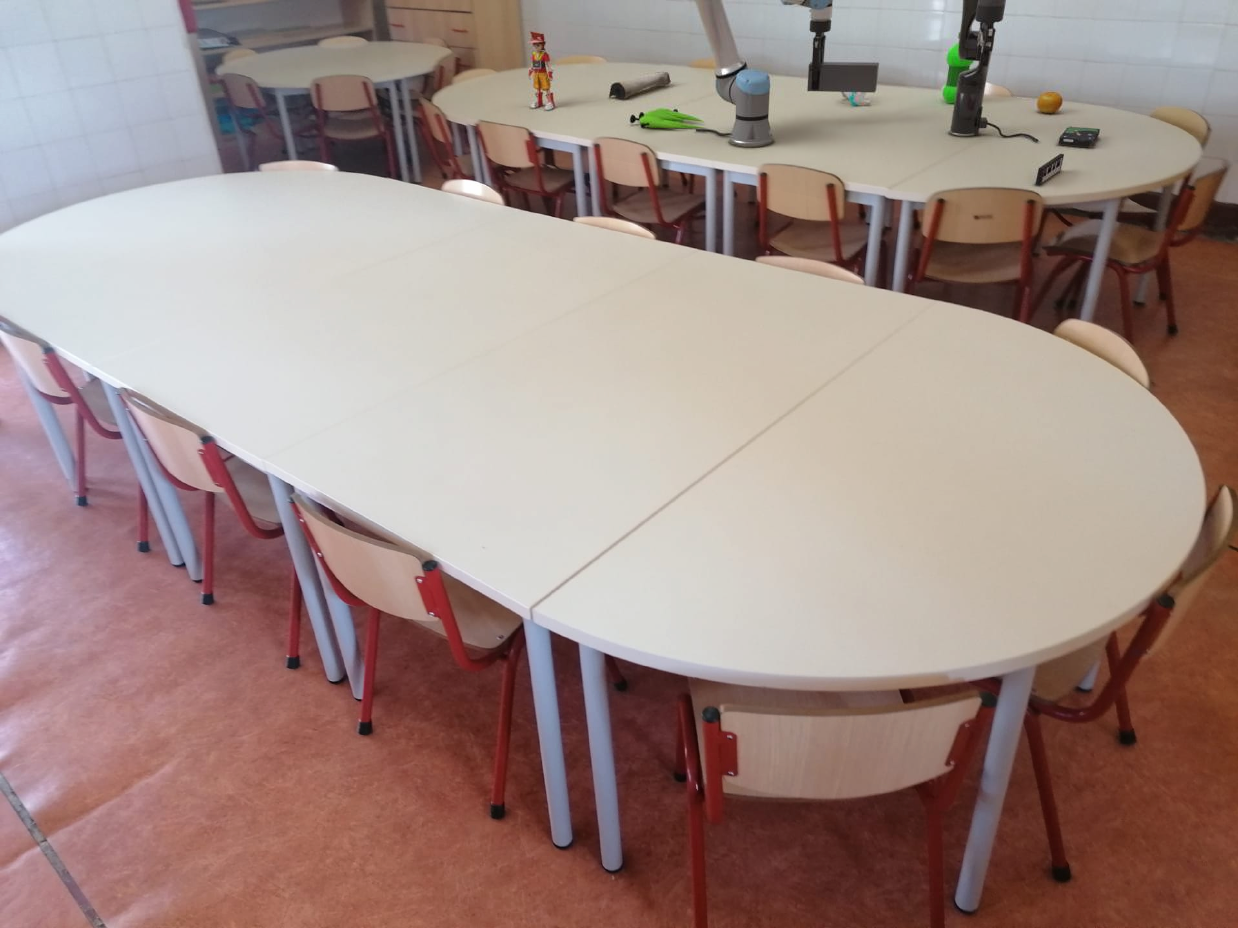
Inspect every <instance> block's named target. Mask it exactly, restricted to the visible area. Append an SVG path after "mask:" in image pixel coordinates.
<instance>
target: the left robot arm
mask: <svg viewBox="0 0 1238 928" xmlns="http://www.w3.org/2000/svg"><path fill="white" fill-rule="evenodd" d="M833 1H834V0H780V2H781V4H782V5H783V6H792V5H797V6H801V7H805V8H809V10H808V12H809V13H810V17H809V18H810V21H809V32H811V33H815V34H814V37H813V38H812V57H811V62H812V68H811V69H810V71H812V86H811V90H819V80H820V71H819V70H820V62H825V50H826V49H825V48H826V40H827V36H826V34H825V33H829V32H831V29H832V20H831V19H832V18H833ZM694 2H695V5H696V8H697V12H698V14H699V17H700V20H701V23H702V26H703V29H704V32H705V35H706V38H707V41H708V44H709V47H710V50H711V53H712V56H713V59H714V63H715V65H716V67H715V69H714V76H715V80H714V86H715V87H714V88H715V91H716V93H717V94H718V96H719V97H720V98H721V99H722V100H724V101H725V102H727V103H730V104H731V105H734V106H735V120H734V123H733V126H732V130H731V132H723V133H722V132H720V131H717V130H716V129H715V130H714V129H710V128H695V132H709V133H714V134H716V135H718V136H721V137H727V136H729V143H730V144H731V145H732V146H736V147H740V148H761V147H765V146H768V145H770V144H772V143H773V138H774V135H773V130H772V128H771V125H770V121H769V115H770V114H769V112H770V94H771V93H770V91H771V80H770V79H771V78H770V74H768V73H767V72H766V71H764V70H761V69H755V68H749V67H748V63H747V61H746V58H744V57H742V56H741V55H740V53H739V50H738V47H737V44H736V40H735V37H734V34H733V31H732V28H731V24H730V21H729V19H728V16H727V11H726V8H725V6H724V2H723V0H694Z"/></svg>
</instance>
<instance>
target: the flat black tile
mask: <svg viewBox="0 0 1238 928" xmlns="http://www.w3.org/2000/svg"><path fill="white" fill-rule="evenodd" d="M1064 157H1065V153H1059V154H1058V155H1056V156H1055V157H1052V159H1051V160H1049V161H1047V162H1045V164H1042V165H1041V166H1039V167H1038V169H1037V175H1036V179H1035V186H1040V185H1042V183H1044V182H1045V181H1047V180H1048V179H1049V178H1051V177H1052V176H1054V175H1055V174H1056V173H1058V172H1060V171H1061V170H1062V165H1063V161H1064Z"/></svg>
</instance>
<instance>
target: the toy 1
mask: <svg viewBox="0 0 1238 928" xmlns="http://www.w3.org/2000/svg"><path fill="white" fill-rule="evenodd" d="M529 33H530V35H531V36H528V37H527V38H528V39H529V40H528V41H527V43H529V44H530V43H531V44H532V48H533V50H534V51H533V52H532V55H531V58H530V59H531V63H530V66H528V74H527V75H528V76H527V77H528V79H529V80H531V75H532V74H533V84H532V85H533V86H532V87H533V88H534V89H535V90H536V92H534V95H535V97H536V100H535V101H533V102H531V105H530V108H531V109H535V108H538V107H542V106H544V101H543V100H544V99H543V95H544V92H546V94H545V97H546V99H547V103H546V104H545V106H544V110H546V111H549V110H553V109H554V107H555V106H556V105H555V99H554V92H551V91H550V90H551V86H552V84H551V82H552V81H553V80H554V77H553V73H554V71H555V70H554V69H552V68H551V63H550V61H551V59H550V58H551V57H550V54H549V53H548V52H547V50H546V48H545V46H546V44H547V41H545V35H544V33H543V32H542V33H539V32H535V31H529Z"/></svg>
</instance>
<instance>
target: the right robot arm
mask: <svg viewBox="0 0 1238 928" xmlns="http://www.w3.org/2000/svg"><path fill="white" fill-rule="evenodd" d="M1006 3H1007V0H962V12H961V23H960V30H959V32H960V37H959V38H958V43H959V45H958V56H959V58H960V59H961V60H967V61H973V62H978V63H977V65H976V66H975V67H972V68H971V69H970V68H969V70H966V71H963V72H961V73H960V74H959V77H958V83H957V90H956V96H955V103H953V110H952V115H951V124H950V129H949V134H950V135H952V136H956V137H973V136H979V131H980V129H987V128H988V126H990V127H992V128H994V129H996V130H997V131H998V133H999V135H1000V137H1002V138H1006V139H1007V138H1015V137H1020V136H1021V137H1027V138H1030V139H1031V140H1033V141H1034V142H1036V143H1037V142H1039V139H1037V138H1036V137H1034V136H1033V135H1031V134H1029V133H1014V134H1010V135H1009V134H1008V135H1005V134H1003V132H1002V130H1001V128H1000V127H999V126H997V125H996V124H994V123H992V122H988V119H987V117H986V116H983V117H982V115H983V109H984V107H983V102H984V96H985V90H986V83H987V79H988V73H989V67H990V63H991V58H992V54H993V49H994V44H995V35H996V32H997V30H996V28H995V27H994V26H995V23H1000V22H1002V21H1003V19H1004V15H1005V10H1006V5H1007V4H1006ZM975 21H976V22H977V23H979V29H978V30H973V25H974V22H975Z"/></svg>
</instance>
